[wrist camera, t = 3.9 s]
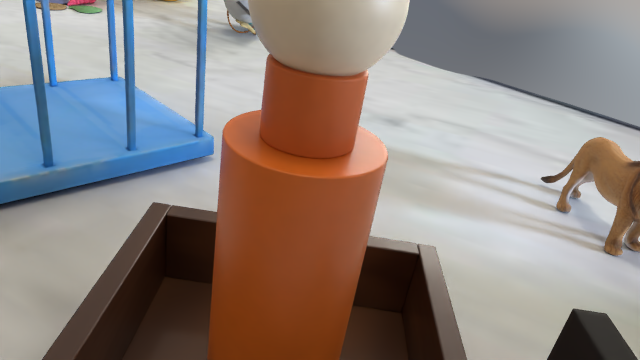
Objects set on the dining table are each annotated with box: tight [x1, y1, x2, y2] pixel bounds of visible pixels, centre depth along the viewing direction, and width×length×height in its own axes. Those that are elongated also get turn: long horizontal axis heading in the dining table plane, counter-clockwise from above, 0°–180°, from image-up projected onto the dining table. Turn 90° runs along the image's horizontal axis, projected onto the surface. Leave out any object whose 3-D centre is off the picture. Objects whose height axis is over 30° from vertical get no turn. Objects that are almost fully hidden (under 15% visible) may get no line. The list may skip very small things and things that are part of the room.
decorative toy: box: [224, 0, 256, 35], centre depth 84 cm, size 12×10×20 cm
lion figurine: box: [541, 137, 640, 256], centre depth 39 cm, size 15×5×9 cm, turn 18°
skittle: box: [207, 0, 409, 360], centre depth 17 cm, size 5×5×18 cm
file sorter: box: [0, 0, 214, 204], centre depth 34 cm, size 25×17×15 cm
